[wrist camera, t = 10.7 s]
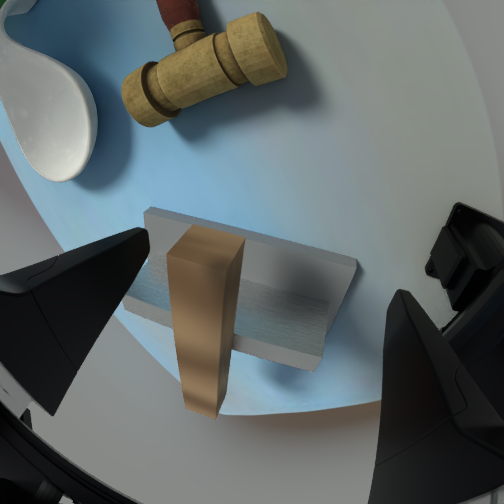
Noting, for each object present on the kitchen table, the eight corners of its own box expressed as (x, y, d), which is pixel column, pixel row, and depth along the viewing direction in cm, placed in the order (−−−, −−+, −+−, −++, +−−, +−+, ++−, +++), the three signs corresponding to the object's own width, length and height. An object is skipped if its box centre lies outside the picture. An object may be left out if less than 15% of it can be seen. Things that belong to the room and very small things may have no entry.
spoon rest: (136, 139, 22) (76, 167, 16) (69, 185, 27) (21, 216, 21) (66, -37, 12) (13, -40, 6) (12, 31, 17) (-34, 41, 11)
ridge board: (356, 259, 22) (356, 268, 21) (321, 337, 28) (320, 346, 27) (150, 206, 25) (143, 212, 24) (158, 288, 31) (153, 295, 30)
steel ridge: (329, 302, 24) (322, 357, 19) (322, 317, 25) (314, 371, 20) (155, 252, 26) (120, 292, 21) (157, 269, 27) (124, 309, 23)
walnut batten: (226, 393, 26) (215, 419, 23) (197, 383, 26) (185, 408, 24) (245, 237, 15) (225, 271, 13) (193, 223, 16) (166, 254, 13)
